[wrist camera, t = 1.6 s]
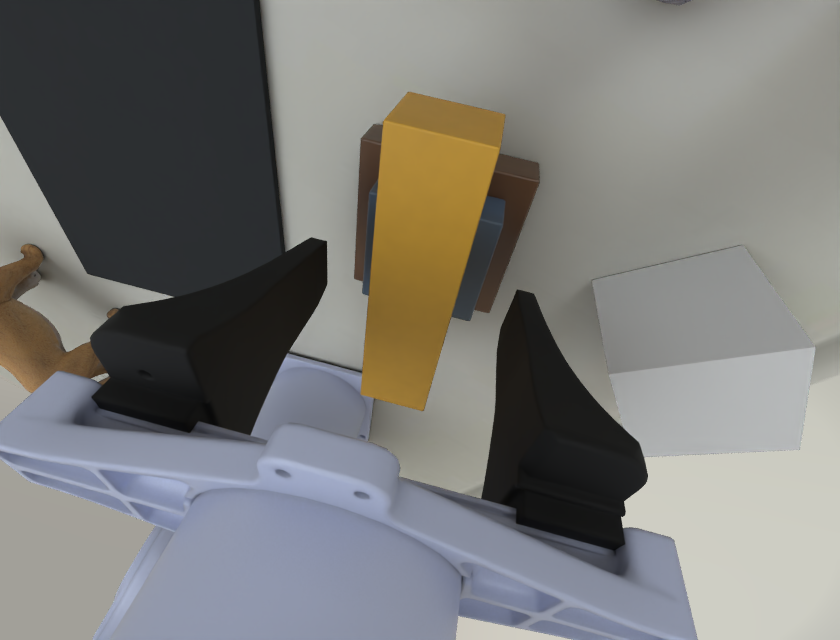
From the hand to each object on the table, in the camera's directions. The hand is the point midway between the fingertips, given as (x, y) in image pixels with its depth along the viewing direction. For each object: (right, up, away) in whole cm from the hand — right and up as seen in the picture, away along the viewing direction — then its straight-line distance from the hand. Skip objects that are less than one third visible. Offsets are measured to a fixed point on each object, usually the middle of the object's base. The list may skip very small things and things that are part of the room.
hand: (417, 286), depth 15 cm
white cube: (+12, -1, +5) cm, 13 cm away
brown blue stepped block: (+1, +4, +4) cm, 5 cm away
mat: (-14, +7, +5) cm, 16 cm away
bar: (0, +1, +1) cm, 2 cm away
